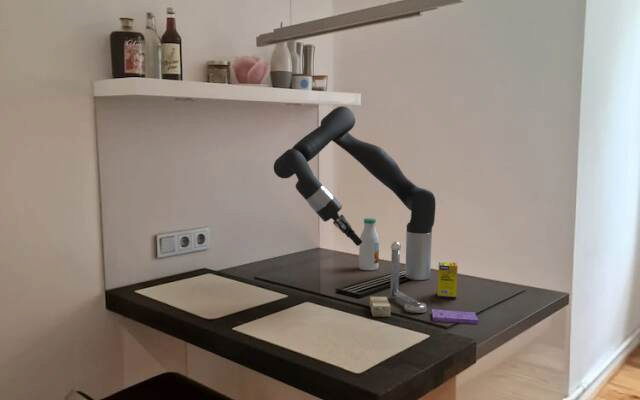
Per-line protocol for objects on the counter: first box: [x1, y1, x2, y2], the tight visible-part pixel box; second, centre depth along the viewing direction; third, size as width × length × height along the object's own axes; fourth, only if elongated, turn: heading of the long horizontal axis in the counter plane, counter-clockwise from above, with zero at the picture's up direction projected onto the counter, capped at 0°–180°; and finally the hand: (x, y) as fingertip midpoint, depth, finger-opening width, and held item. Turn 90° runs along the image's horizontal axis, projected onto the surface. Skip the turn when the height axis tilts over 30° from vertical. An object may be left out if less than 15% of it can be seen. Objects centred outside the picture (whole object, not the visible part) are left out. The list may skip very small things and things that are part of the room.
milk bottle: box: [358, 217, 380, 271], centre depth 219 cm, size 8×8×20 cm
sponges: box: [431, 308, 479, 325], centre depth 160 cm, size 7×13×2 cm, turn 81°
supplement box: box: [436, 261, 458, 300], centre depth 182 cm, size 6×6×11 cm
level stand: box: [369, 296, 392, 318], centre depth 164 cm, size 11×5×3 cm, turn 1°
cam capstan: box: [389, 241, 427, 314], centre depth 171 cm, size 18×6×18 cm, turn 21°
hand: (359, 243), depth 176 cm, fingers closed
